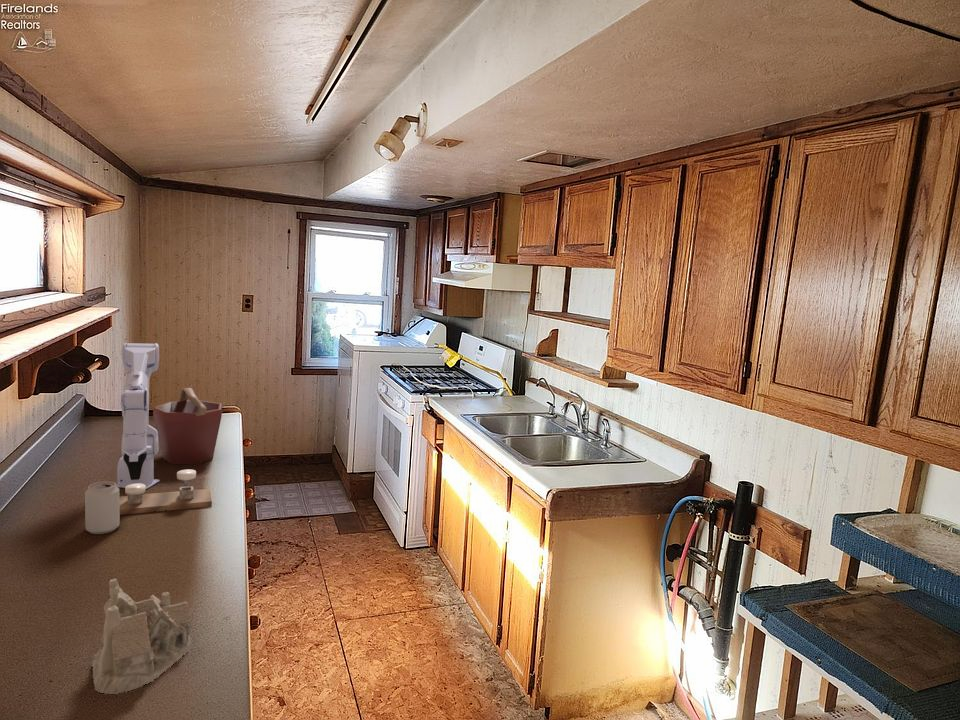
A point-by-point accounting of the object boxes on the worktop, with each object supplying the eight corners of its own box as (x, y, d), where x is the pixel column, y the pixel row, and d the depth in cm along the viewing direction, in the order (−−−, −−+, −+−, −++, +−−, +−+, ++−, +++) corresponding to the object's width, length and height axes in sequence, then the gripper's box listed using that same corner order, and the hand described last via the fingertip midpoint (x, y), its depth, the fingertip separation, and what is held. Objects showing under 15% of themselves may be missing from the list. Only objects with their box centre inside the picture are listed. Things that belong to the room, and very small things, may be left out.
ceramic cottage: (85, 700, 96) (91, 608, 95) (96, 646, 111) (101, 566, 110) (194, 683, 104) (200, 597, 103) (191, 634, 118) (197, 559, 117)
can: (126, 527, 160) (126, 482, 158) (100, 537, 153) (99, 491, 151) (105, 521, 162) (104, 477, 161) (78, 531, 155) (77, 486, 154)
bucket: (220, 466, 213) (221, 395, 210) (148, 469, 205) (148, 396, 202) (221, 447, 235) (222, 382, 232) (157, 449, 227) (157, 382, 224)
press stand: (106, 516, 166) (106, 501, 165) (110, 501, 175) (110, 488, 175) (211, 506, 177) (211, 492, 177) (209, 493, 187) (209, 480, 186)
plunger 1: (124, 504, 170) (124, 490, 169) (125, 498, 174) (125, 484, 174) (145, 502, 172) (145, 488, 172) (145, 496, 177) (145, 482, 176)
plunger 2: (176, 489, 175) (177, 475, 175) (176, 483, 180) (177, 470, 179) (196, 487, 177) (196, 474, 177) (195, 482, 182) (195, 468, 181)
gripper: (150, 438, 166) (150, 486, 168) (152, 425, 179) (152, 470, 181) (120, 439, 163) (120, 488, 165) (124, 426, 176) (124, 471, 178)
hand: (135, 479), depth 172 cm, fingers closed
